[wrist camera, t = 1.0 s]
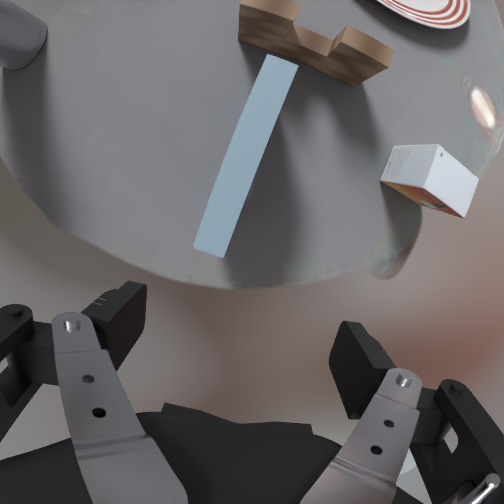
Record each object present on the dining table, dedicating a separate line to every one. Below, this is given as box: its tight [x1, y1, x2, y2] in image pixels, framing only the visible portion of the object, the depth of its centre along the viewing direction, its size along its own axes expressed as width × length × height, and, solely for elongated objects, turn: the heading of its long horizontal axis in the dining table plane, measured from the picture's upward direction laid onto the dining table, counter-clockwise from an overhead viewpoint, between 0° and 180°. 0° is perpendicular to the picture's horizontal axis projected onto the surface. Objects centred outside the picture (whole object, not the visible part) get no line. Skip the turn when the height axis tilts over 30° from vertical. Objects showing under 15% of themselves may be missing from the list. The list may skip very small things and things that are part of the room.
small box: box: [380, 144, 479, 218], centre depth 32 cm, size 8×6×10 cm
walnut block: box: [238, 0, 394, 87], centre depth 27 cm, size 16×2×10 cm, turn 69°
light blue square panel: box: [193, 54, 298, 258], centre depth 28 cm, size 2×16×15 cm, turn 159°
